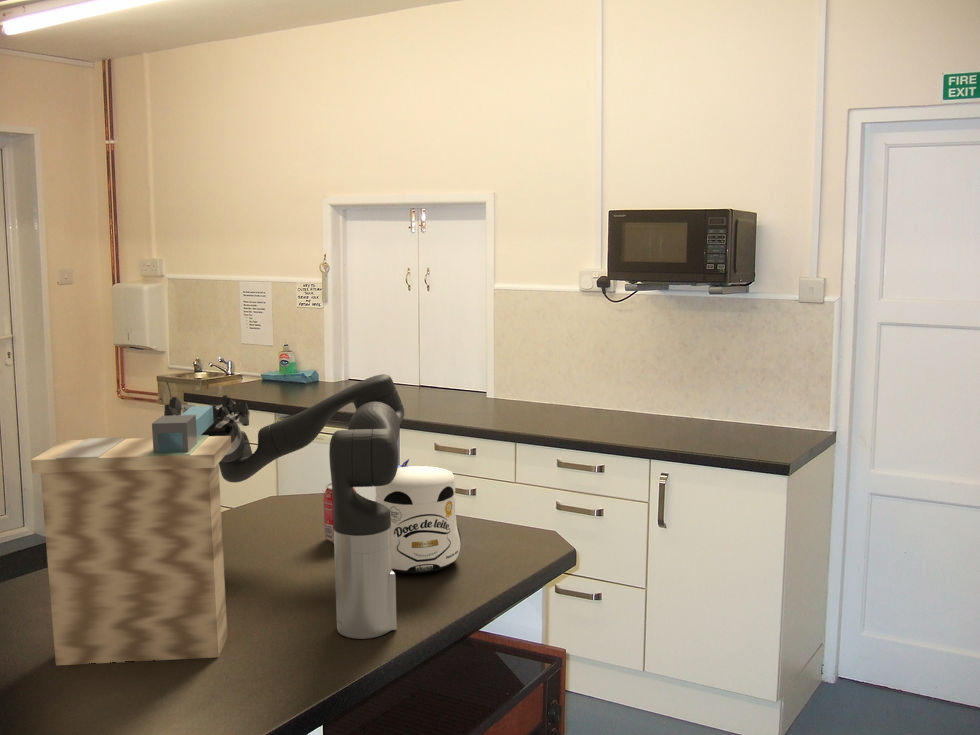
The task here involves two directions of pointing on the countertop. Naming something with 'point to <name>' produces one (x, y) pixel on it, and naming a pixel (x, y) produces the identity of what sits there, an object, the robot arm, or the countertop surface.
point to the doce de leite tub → (421, 519)
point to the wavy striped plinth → (134, 549)
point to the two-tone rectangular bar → (181, 430)
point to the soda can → (329, 513)
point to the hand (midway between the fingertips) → (198, 401)
